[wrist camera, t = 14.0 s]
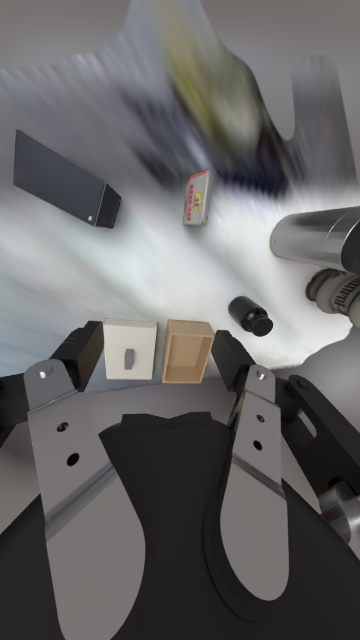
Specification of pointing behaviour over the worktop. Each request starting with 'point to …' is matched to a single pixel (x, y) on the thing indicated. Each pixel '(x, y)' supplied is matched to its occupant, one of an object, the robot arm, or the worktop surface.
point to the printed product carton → (197, 199)
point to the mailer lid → (129, 348)
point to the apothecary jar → (336, 293)
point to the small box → (63, 182)
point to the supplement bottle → (250, 316)
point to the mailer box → (186, 351)
